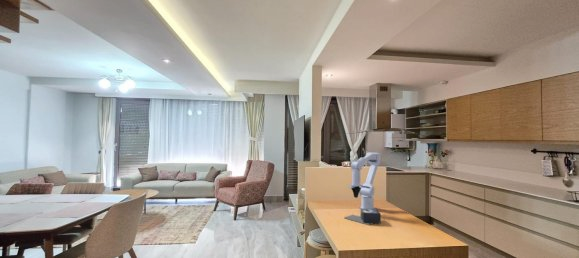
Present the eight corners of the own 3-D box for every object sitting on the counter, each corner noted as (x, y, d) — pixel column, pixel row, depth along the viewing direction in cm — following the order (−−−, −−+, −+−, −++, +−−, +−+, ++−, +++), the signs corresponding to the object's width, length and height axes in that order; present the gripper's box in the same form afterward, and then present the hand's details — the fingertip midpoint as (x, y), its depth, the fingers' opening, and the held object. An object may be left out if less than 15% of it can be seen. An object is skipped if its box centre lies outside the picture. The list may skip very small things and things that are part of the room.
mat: (352, 215, 173) (352, 214, 173) (376, 221, 160) (376, 221, 160) (343, 218, 166) (343, 217, 166) (368, 225, 153) (368, 224, 153)
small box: (376, 208, 166) (381, 213, 155) (376, 218, 166) (381, 223, 155) (360, 207, 167) (363, 212, 156) (360, 217, 167) (363, 223, 156)
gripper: (355, 179, 175) (355, 199, 174) (366, 178, 185) (366, 197, 184) (346, 178, 180) (346, 197, 179) (358, 177, 190) (357, 195, 189)
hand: (355, 197), depth 182 cm, fingers closed
